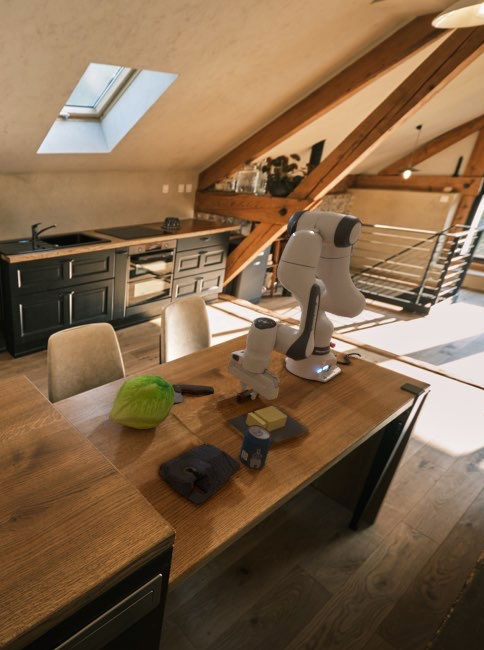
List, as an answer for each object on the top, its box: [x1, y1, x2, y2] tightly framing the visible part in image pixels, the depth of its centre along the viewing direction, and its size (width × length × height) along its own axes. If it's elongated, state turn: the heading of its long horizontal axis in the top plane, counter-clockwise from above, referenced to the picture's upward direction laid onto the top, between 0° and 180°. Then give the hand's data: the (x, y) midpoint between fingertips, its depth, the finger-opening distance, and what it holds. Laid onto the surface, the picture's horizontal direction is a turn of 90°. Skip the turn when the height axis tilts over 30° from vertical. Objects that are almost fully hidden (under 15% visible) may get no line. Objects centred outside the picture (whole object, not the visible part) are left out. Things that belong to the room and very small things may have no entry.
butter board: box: [226, 404, 309, 446], centre depth 126 cm, size 22×14×6 cm, turn 114°
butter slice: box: [246, 411, 266, 428], centre depth 124 cm, size 2×6×4 cm, turn 24°
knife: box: [215, 388, 261, 409], centre depth 137 cm, size 19×2×4 cm, turn 114°
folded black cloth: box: [159, 443, 241, 505], centre depth 108 cm, size 15×22×5 cm
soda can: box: [238, 425, 272, 470], centre depth 110 cm, size 7×7×12 cm
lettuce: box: [108, 374, 175, 430], centre depth 124 cm, size 19×25×17 cm
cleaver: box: [171, 384, 215, 404], centre depth 142 cm, size 29×10×2 cm, turn 94°
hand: (247, 395), depth 139 cm, fingers closed on knife, 2 cm apart
